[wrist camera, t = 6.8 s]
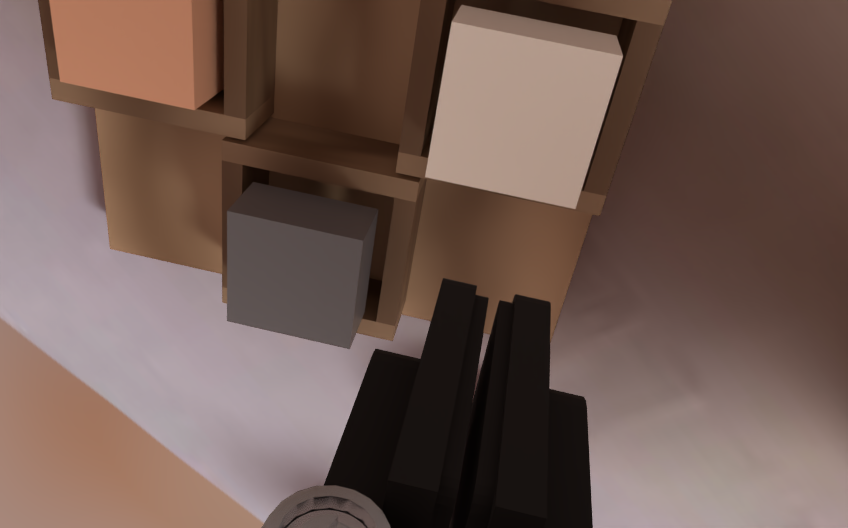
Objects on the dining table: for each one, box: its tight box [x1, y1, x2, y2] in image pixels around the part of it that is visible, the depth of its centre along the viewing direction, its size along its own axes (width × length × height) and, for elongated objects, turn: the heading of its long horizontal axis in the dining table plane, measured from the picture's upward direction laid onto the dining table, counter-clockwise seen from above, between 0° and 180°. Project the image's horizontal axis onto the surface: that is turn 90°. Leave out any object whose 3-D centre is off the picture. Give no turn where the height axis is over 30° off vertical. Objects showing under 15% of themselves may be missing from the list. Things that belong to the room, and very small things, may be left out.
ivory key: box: [425, 5, 623, 209], centre depth 21 cm, size 5×5×2 cm
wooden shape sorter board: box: [38, 0, 672, 342], centre depth 27 cm, size 21×17×5 cm
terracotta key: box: [49, 0, 224, 110], centre depth 23 cm, size 5×5×2 cm
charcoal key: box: [227, 182, 378, 349], centre depth 26 cm, size 5×5×2 cm
